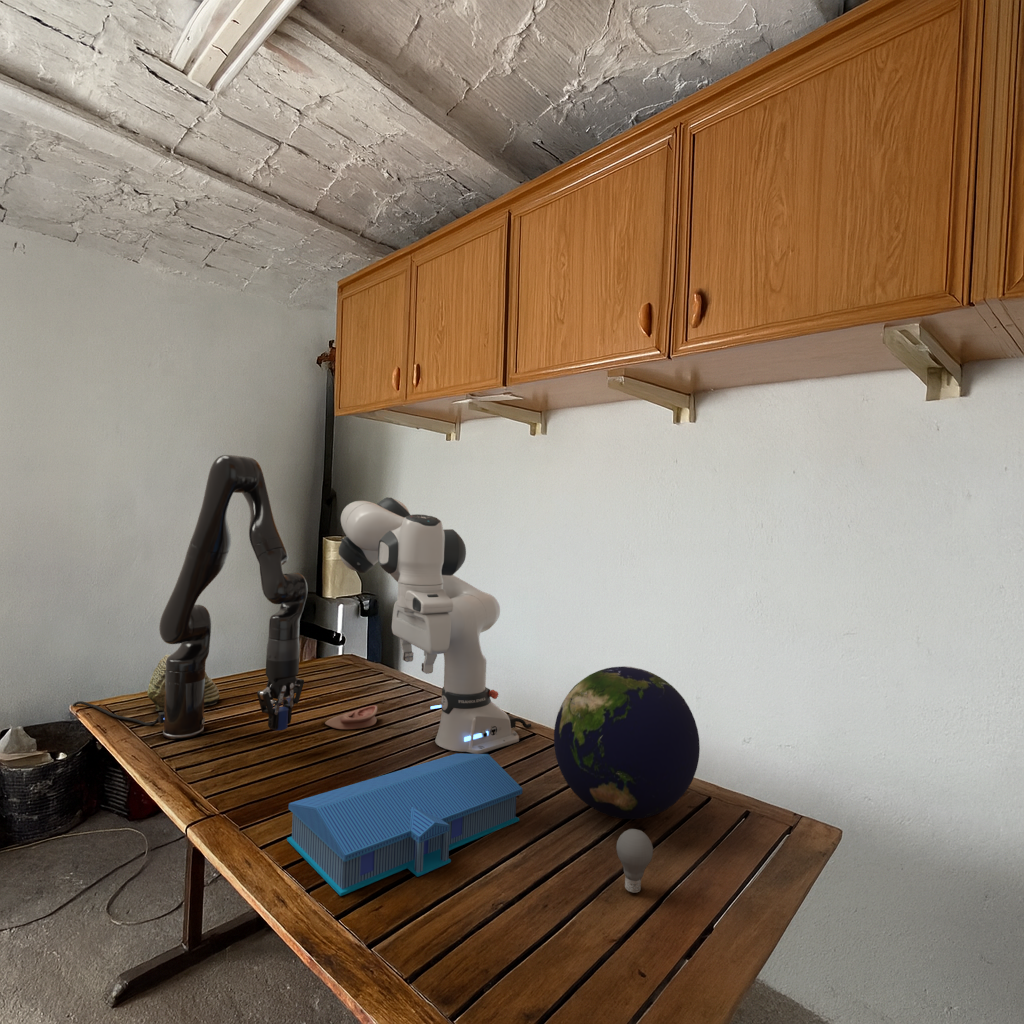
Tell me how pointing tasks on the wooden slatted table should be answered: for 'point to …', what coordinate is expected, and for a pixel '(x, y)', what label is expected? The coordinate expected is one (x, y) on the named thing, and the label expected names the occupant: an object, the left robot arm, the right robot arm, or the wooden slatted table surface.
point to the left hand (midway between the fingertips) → (279, 725)
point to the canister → (282, 718)
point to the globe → (626, 742)
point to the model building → (402, 819)
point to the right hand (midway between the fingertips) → (417, 666)
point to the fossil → (158, 687)
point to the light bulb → (634, 857)
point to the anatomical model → (354, 719)
